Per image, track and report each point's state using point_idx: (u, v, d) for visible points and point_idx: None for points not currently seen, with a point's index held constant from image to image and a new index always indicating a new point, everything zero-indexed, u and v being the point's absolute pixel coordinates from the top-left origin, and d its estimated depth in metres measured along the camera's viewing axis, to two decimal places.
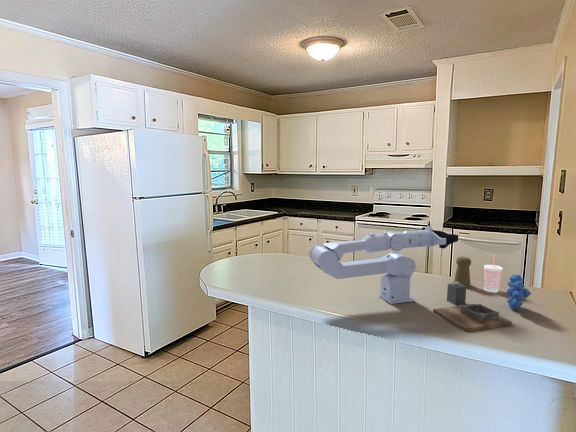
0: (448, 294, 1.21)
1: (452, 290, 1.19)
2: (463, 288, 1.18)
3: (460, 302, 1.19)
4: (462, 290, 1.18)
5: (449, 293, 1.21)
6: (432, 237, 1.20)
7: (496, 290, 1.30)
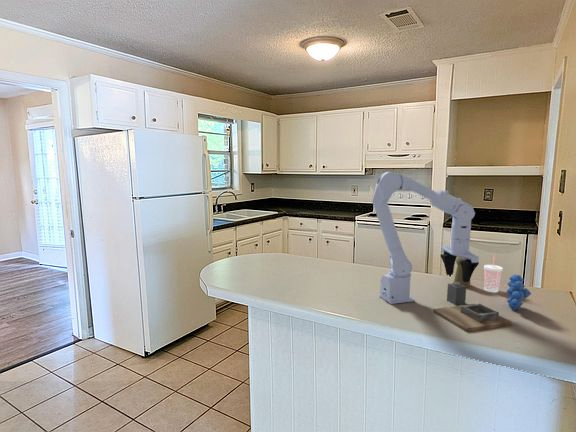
0: (448, 294, 1.21)
1: (452, 290, 1.19)
2: (463, 288, 1.18)
3: (460, 302, 1.19)
4: (462, 290, 1.18)
5: (449, 293, 1.21)
6: (467, 253, 1.16)
7: (496, 290, 1.30)
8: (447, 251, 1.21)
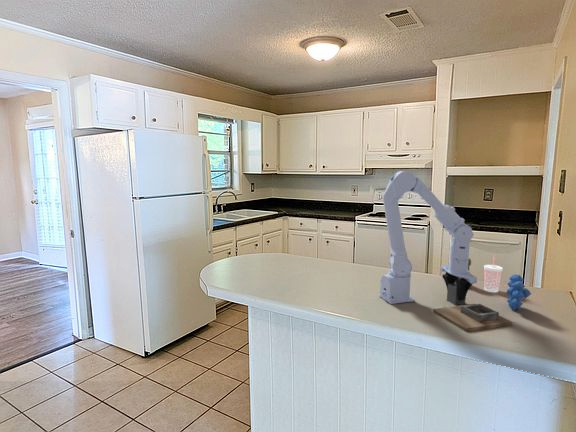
0: (448, 294, 1.21)
1: (452, 290, 1.19)
2: None
3: (460, 302, 1.19)
4: None
5: (449, 293, 1.21)
6: (466, 273, 1.17)
7: (496, 290, 1.30)
8: (446, 270, 1.21)
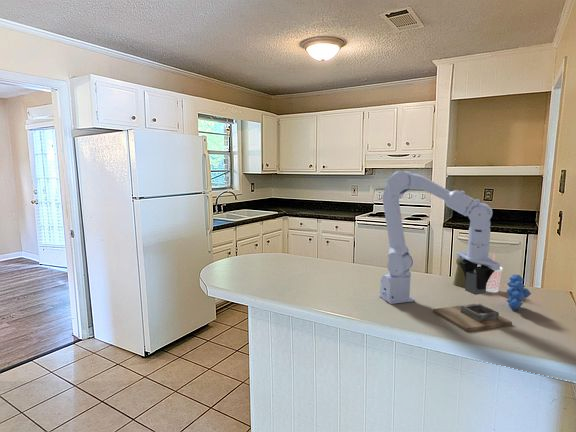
0: (467, 283, 1.10)
1: (471, 278, 1.08)
2: None
3: (480, 292, 1.08)
4: None
5: (468, 282, 1.10)
6: (486, 259, 1.06)
7: (496, 290, 1.30)
8: (464, 257, 1.10)
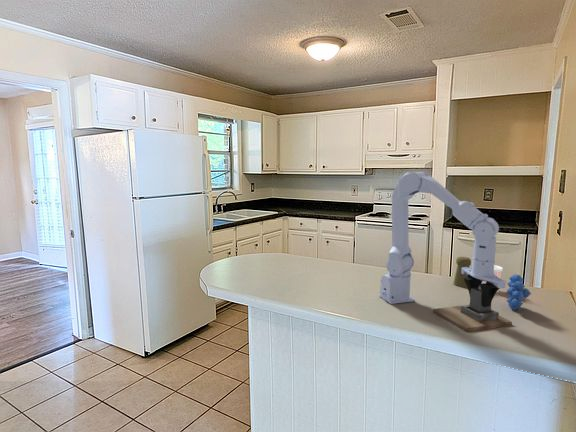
0: (471, 300, 1.07)
1: (475, 295, 1.06)
2: None
3: (485, 309, 1.05)
4: None
5: (472, 299, 1.07)
6: (492, 276, 1.03)
7: None
8: (468, 273, 1.08)
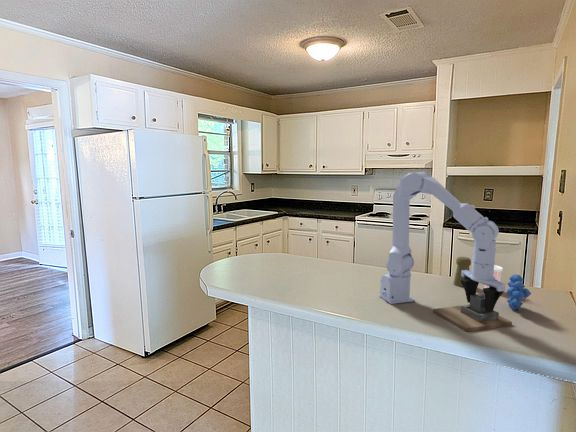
0: (471, 306, 1.08)
1: (475, 302, 1.06)
2: None
3: None
4: None
5: (472, 305, 1.07)
6: (491, 279, 1.03)
7: None
8: (468, 276, 1.08)
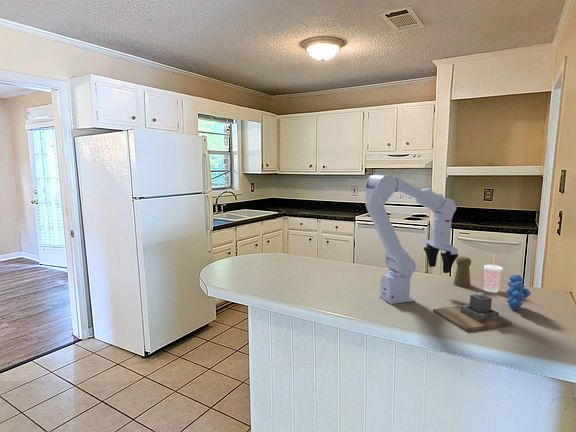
0: (471, 306, 1.08)
1: (475, 302, 1.06)
2: (488, 300, 1.05)
3: None
4: (487, 302, 1.05)
5: (472, 305, 1.07)
6: (448, 245, 1.22)
7: (496, 290, 1.30)
8: (429, 244, 1.27)
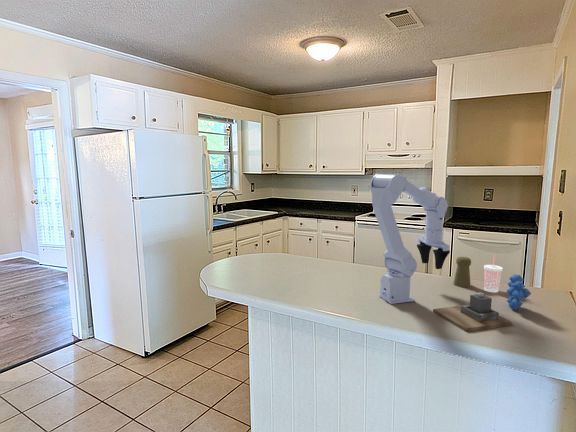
0: (471, 306, 1.08)
1: (475, 302, 1.06)
2: (488, 300, 1.05)
3: None
4: (487, 302, 1.05)
5: (472, 305, 1.07)
6: (440, 242, 1.27)
7: (496, 290, 1.30)
8: (422, 241, 1.31)
